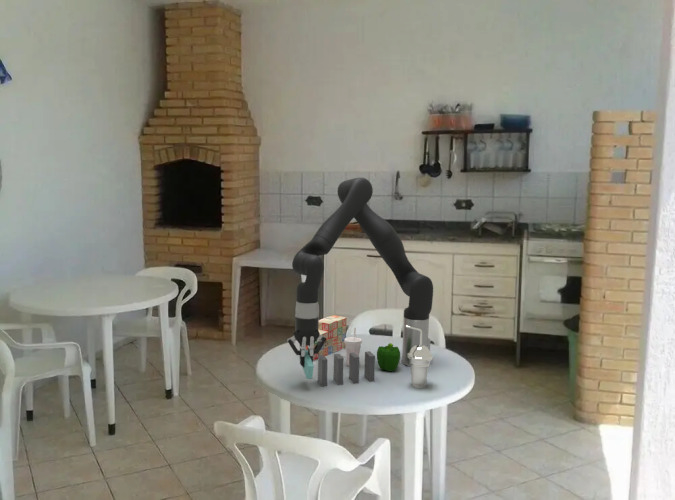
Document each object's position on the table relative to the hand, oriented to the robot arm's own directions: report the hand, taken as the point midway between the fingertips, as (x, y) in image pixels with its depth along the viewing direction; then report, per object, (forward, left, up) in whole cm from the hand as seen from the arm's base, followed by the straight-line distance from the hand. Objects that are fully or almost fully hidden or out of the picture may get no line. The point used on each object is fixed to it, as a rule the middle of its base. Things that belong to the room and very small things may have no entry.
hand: (306, 366), depth 210 cm
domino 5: (-22, 0, -6) cm, 23 cm away
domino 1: (0, +5, 0) cm, 5 cm away
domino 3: (-11, 0, -6) cm, 13 cm away
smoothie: (-21, -15, -7) cm, 27 cm away
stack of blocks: (-15, -32, -7) cm, 36 cm away
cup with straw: (-36, +9, -7) cm, 38 cm away
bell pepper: (-32, -8, -7) cm, 34 cm away
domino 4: (-17, 0, -6) cm, 18 cm away
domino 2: (-6, 0, -6) cm, 9 cm away
